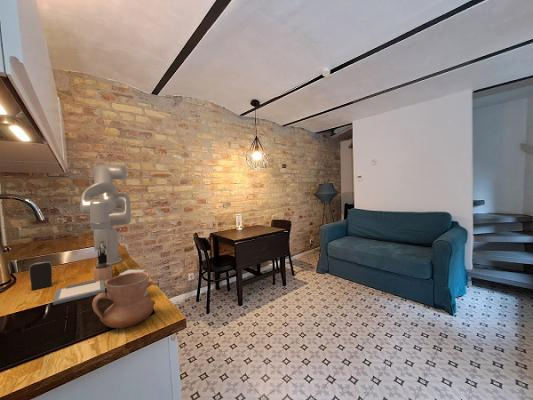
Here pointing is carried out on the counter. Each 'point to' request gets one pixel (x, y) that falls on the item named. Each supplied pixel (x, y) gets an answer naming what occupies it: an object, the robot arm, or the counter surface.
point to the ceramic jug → (126, 300)
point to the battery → (40, 275)
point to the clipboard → (79, 291)
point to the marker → (102, 265)
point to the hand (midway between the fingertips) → (102, 260)
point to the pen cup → (103, 273)
